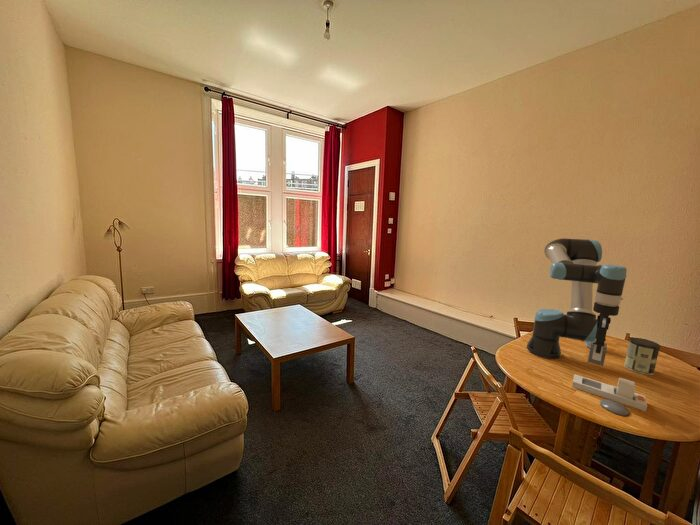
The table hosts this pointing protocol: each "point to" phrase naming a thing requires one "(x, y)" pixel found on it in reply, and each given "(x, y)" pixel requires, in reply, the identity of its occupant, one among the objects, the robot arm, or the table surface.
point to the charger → (592, 354)
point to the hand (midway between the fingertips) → (596, 357)
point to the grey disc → (614, 407)
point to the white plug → (625, 388)
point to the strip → (608, 392)
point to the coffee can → (642, 356)
